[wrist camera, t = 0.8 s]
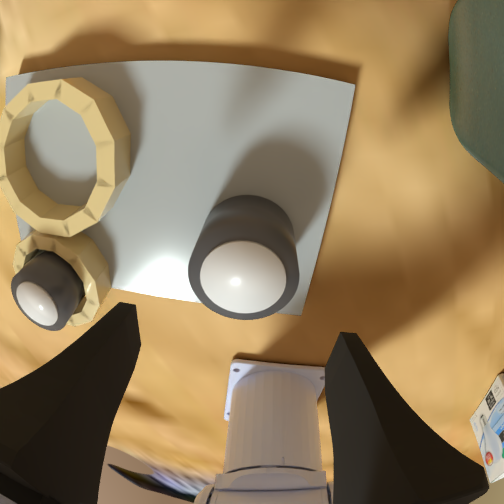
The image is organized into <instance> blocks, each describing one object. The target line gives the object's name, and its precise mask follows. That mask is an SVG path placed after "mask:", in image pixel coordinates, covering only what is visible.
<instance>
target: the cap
mask: <svg viewBox="0 0 504 504" xmlns="http://www.w3.org/2000/svg"><path fill="white" fill-rule="evenodd" d="M299 277H300V273H299V265H298V258H297V251H296V243H295V236H294V230H293V226H292V223H291V221H290V219H289V217H288V215H287V214H286V213H285V211H284V210H283V209H282V208H281V207H280V206H278V205H277V204H276V203H274V202H273V201H271V200H269V199H266V198H264V197H261V196H256V195H239V196H234V197H231V198H228V199H226V200H224V201H222V202H221V203H219V204H218V205H217V206H215V207H214V208H213V209H212V211H211V212H210V213H209V215H208V216H207V218H206V220H205V223H204V225H203V228H202V230H201V232H200V235H199V237H198V240H197V242H196V245H195V247H194V250H193V252H192V255H191V257H190V260H189V264H188V278H189V283H190V285H191V288H192V290H193V292H194V293H195V295H196V296H197V298H198V299H199V300H200V301H201V302H202V303H203V304H204V305H205V306H206V307H208V308H209V309H211V310H212V311H214V312H216V313H218V314H220V315H223V316H225V317H229V318H233V319H240V320H253V319H259V318H264V317H267V316H270V315H272V314H274V313H276V312H278V311H279V310H281V309H282V308H283V307H285V306H286V305H287V304H288V303H289V302H290V301H291V299H292V298H293V296H294V295H295V293H296V291H297V288H298V285H299Z"/></svg>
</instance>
